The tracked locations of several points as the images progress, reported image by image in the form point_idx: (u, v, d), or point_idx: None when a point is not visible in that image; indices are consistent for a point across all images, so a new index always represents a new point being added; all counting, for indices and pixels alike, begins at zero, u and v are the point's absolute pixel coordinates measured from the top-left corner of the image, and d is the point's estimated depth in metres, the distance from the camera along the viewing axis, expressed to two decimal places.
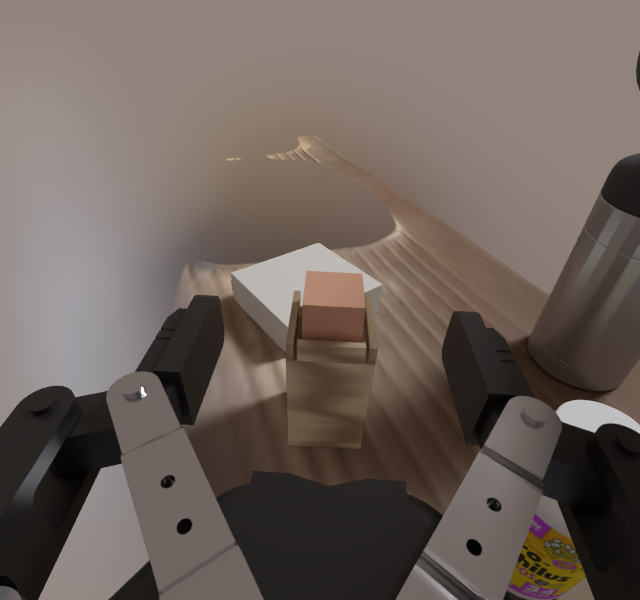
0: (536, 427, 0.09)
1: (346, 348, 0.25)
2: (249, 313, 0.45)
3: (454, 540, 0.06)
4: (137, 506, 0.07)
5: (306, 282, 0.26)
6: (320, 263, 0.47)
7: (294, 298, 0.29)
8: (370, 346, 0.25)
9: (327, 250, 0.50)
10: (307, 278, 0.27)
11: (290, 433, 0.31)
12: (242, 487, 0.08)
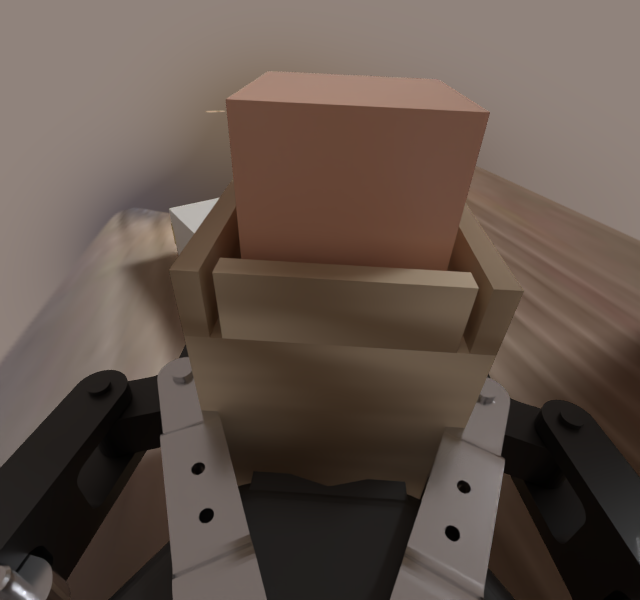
0: (485, 403, 0.09)
1: (401, 289, 0.07)
2: None
3: (454, 540, 0.06)
4: (167, 486, 0.07)
5: (261, 79, 0.08)
6: None
7: None
8: (491, 284, 0.07)
9: None
10: (267, 76, 0.08)
11: None
12: (242, 487, 0.08)
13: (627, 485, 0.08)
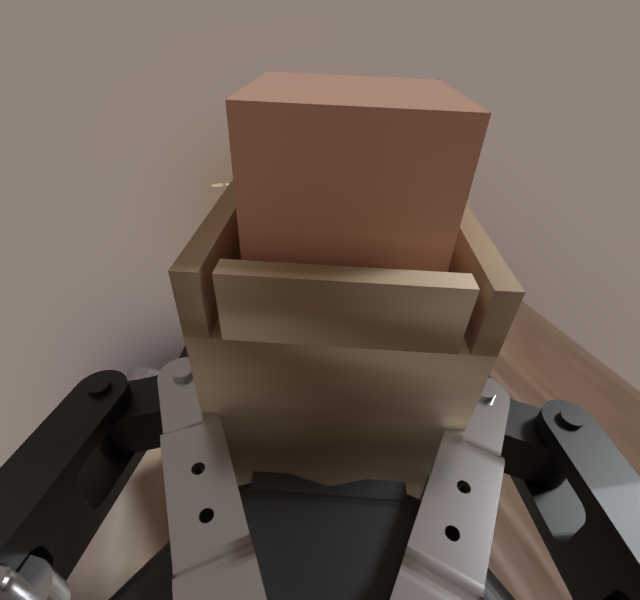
0: (485, 403, 0.09)
1: (401, 291, 0.06)
2: None
3: (454, 540, 0.06)
4: (167, 487, 0.07)
5: (261, 79, 0.08)
6: None
7: None
8: (492, 285, 0.07)
9: None
10: (266, 76, 0.08)
11: None
12: (242, 487, 0.08)
13: (627, 485, 0.08)
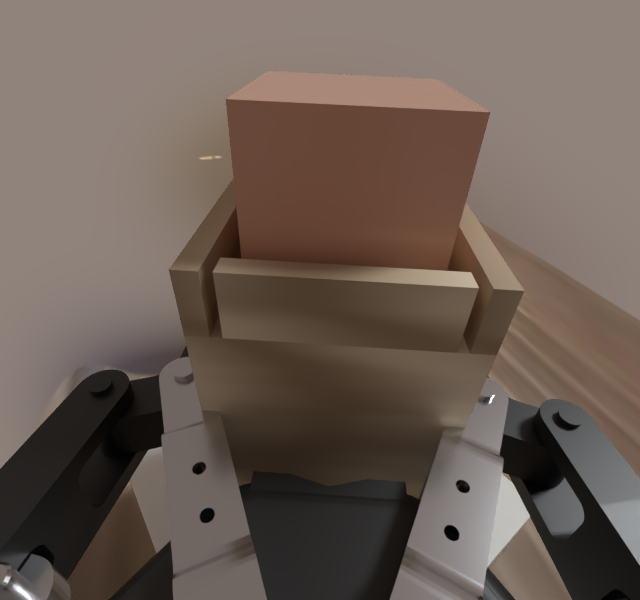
0: (483, 402, 0.09)
1: (401, 289, 0.07)
2: None
3: (454, 540, 0.06)
4: (168, 486, 0.07)
5: (261, 79, 0.08)
6: None
7: None
8: (491, 283, 0.07)
9: None
10: (267, 76, 0.08)
11: None
12: (242, 487, 0.08)
13: (625, 484, 0.08)
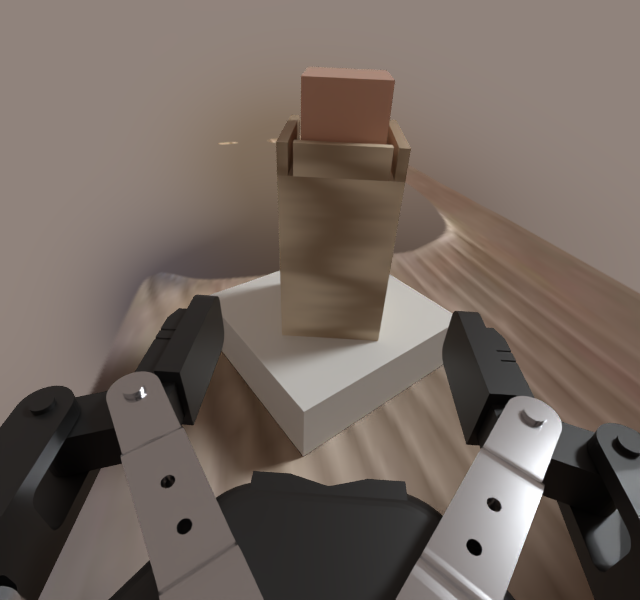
0: (536, 427, 0.09)
1: (364, 149, 0.17)
2: (236, 365, 0.26)
3: (454, 540, 0.06)
4: (137, 506, 0.07)
5: (307, 69, 0.18)
6: None
7: (291, 118, 0.21)
8: None
9: None
10: (309, 68, 0.19)
11: (284, 314, 0.23)
12: (242, 487, 0.08)
13: None
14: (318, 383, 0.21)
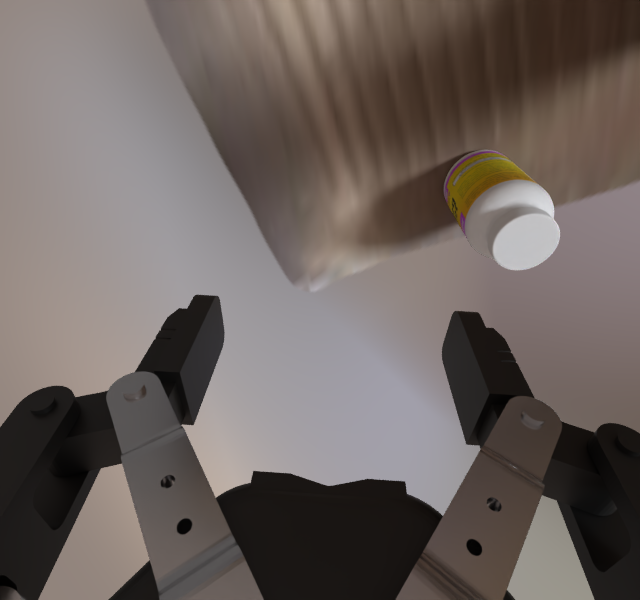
0: (536, 427, 0.09)
1: None
2: None
3: (454, 540, 0.06)
4: (137, 506, 0.07)
5: None
6: None
7: None
8: None
9: None
10: None
11: None
12: (242, 487, 0.08)
13: None
14: None
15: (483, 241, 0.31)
